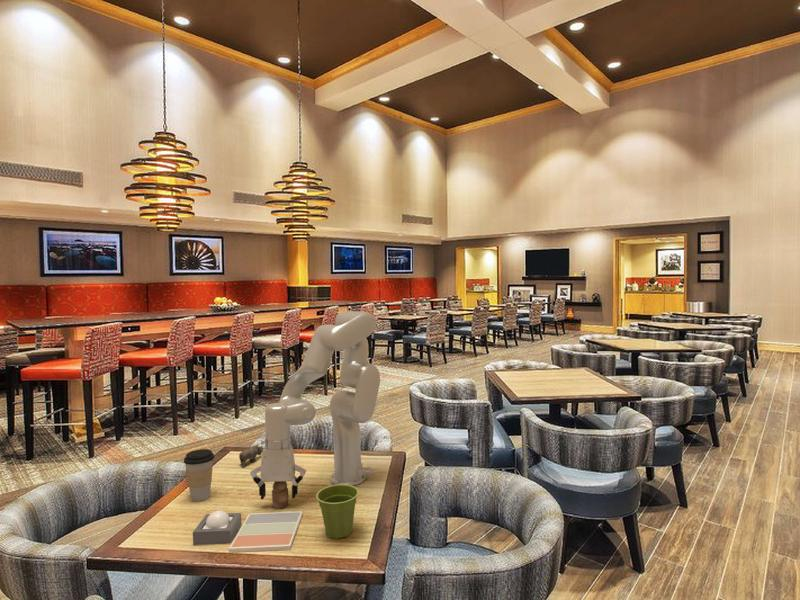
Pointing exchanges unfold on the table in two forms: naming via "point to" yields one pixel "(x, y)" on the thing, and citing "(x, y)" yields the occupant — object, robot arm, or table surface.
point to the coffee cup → (199, 473)
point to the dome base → (217, 531)
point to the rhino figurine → (250, 454)
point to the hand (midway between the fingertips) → (278, 497)
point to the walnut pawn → (280, 495)
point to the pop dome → (217, 520)
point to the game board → (267, 532)
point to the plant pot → (338, 509)
